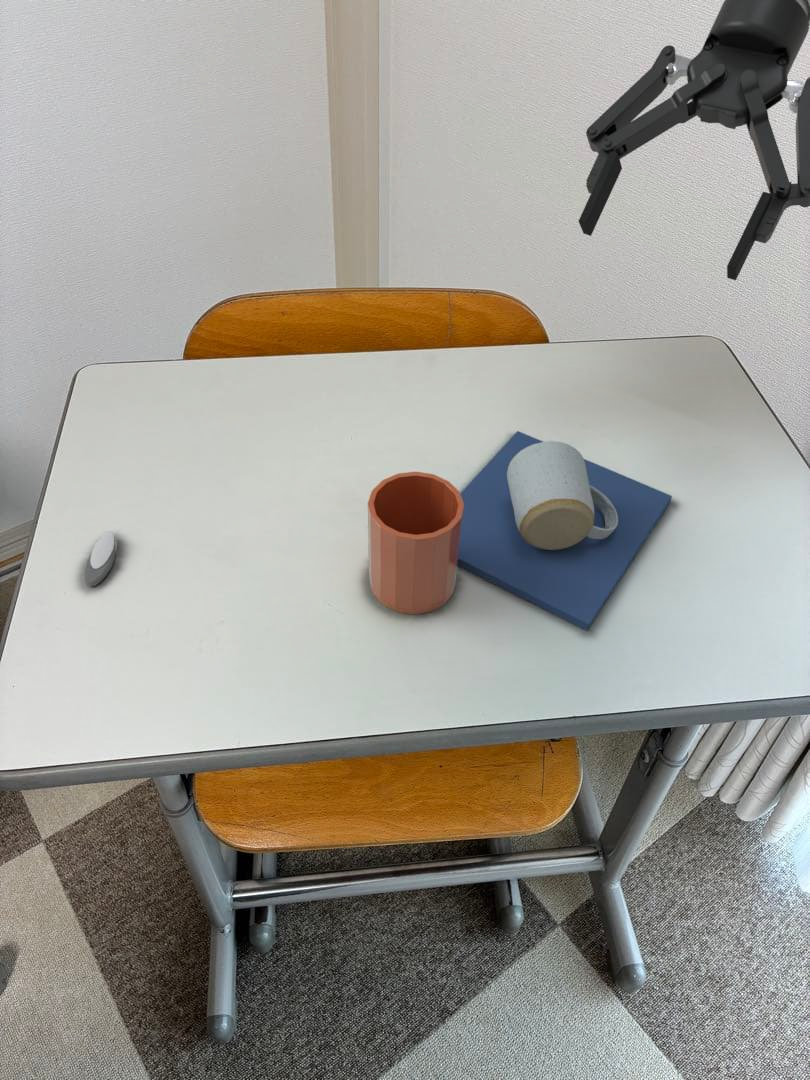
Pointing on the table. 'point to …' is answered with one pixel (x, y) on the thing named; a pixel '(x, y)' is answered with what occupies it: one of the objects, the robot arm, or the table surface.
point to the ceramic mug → (556, 497)
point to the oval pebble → (101, 559)
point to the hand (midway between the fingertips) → (655, 250)
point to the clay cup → (414, 541)
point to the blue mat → (565, 574)
